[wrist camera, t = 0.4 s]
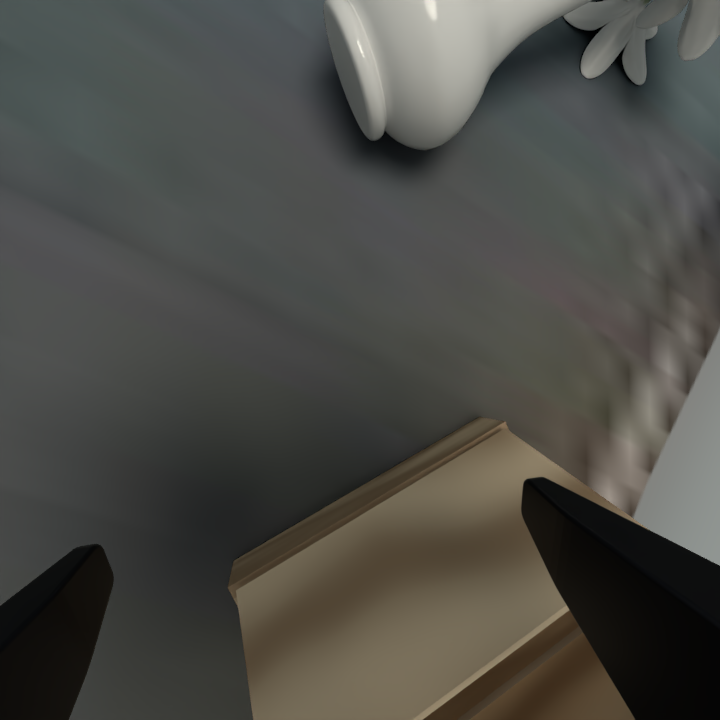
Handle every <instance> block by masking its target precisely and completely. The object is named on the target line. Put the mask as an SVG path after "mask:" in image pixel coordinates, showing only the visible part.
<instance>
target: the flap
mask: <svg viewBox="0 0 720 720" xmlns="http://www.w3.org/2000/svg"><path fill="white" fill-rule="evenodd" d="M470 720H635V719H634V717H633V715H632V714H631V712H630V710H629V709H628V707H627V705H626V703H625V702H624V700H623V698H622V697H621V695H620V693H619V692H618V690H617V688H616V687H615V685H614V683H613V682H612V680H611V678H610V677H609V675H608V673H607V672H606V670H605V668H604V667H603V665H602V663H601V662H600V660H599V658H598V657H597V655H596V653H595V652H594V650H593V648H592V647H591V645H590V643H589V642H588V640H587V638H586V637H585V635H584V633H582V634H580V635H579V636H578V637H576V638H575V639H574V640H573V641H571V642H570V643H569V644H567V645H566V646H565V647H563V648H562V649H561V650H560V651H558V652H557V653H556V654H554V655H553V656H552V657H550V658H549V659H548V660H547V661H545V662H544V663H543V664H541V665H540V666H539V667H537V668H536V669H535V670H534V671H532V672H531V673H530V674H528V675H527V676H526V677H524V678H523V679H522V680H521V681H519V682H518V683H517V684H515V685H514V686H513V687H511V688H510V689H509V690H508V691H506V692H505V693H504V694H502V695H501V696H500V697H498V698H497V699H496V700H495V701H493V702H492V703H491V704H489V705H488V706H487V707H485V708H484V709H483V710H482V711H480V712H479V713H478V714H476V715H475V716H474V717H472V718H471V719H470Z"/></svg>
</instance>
